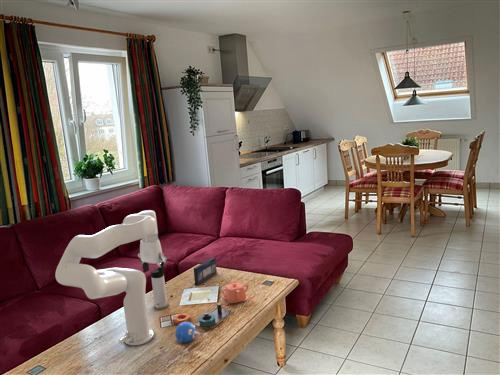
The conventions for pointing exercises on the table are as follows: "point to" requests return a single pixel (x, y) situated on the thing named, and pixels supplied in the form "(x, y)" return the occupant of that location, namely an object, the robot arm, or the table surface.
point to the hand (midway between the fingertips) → (153, 273)
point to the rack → (216, 315)
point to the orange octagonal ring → (182, 315)
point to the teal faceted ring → (207, 322)
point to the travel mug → (159, 290)
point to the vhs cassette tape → (205, 271)
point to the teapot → (235, 292)
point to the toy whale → (186, 332)
